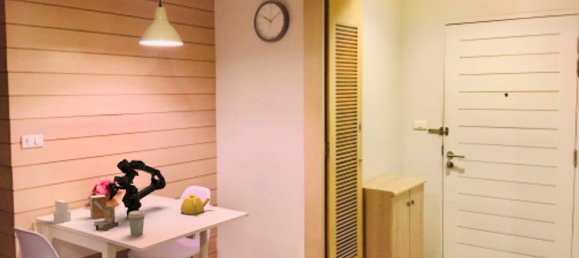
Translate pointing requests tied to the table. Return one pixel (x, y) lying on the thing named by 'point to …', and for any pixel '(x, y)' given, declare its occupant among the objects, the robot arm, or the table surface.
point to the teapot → (193, 205)
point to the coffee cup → (136, 222)
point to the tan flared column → (109, 214)
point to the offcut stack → (101, 226)
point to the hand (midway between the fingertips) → (115, 200)
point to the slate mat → (98, 222)
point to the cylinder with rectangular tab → (61, 212)
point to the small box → (97, 206)
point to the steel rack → (109, 226)
